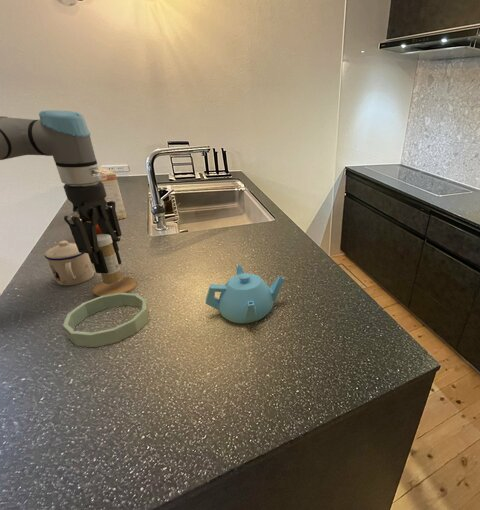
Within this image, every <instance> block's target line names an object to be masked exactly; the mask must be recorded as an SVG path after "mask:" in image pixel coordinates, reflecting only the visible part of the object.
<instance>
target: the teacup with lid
mask: <svg viewBox="0 0 480 510" xmlns="http://www.w3.org/2000/svg"><path fill="white" fill-rule="evenodd" d="M44 258H45V259H46V260H47V262H48V264H49V267H50V270H51V272H52V274H53V277H54V280H55V282H56V283H57V284H58V285H61V286H76V285H79V284H82V283H85V282H88V281H89V280H91V279H92V278H93V277H94V276H95V269H94V268H93V267H94V266H93V264H92V263H91V260H90V257H89V254H88V253H80V252H79V251H78V248H77V246H76V243H75V242H73V243H72V242H69V241H68V240H61V241H59V242H58V244H57V245H55V246H53V247H51V248H49V249H48V250H46V251H45V254H44Z"/></svg>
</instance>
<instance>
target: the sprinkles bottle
mask: <svg viewBox="0 0 480 510" xmlns="http://www.w3.org/2000/svg"><path fill="white" fill-rule="evenodd" d="M97 242H98V250H101V251H102V253H103V256H104V259H105V263H106V266H107V269H108V273H107V274H103V273H100V275H101V278H102V282H104V283H105V284H115V283H118V282H120V281H121V280H122V279H123V277H124V276H123V275H122V272H121V267H120V265H119V264H118V260H117V257H116V253H115V251H114V248H113V244H112V238H111V236H110V235H109V234H98V235H97Z"/></svg>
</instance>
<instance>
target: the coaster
mask: <svg viewBox="0 0 480 510" xmlns="http://www.w3.org/2000/svg"><path fill="white" fill-rule="evenodd" d="M122 277H123V279H122V280H121V281H120V282H118V283H115V284H105V283H104V282H103V281H101V282H99V283H97V284H96V285H95V286H94V287H93V288H92V294H93V295H94V297H95V298H97V297H100V296H104V295H110V294H116V293H131V292H132V291H134V289H135V288H136V287H137V280H136V279H135V278H133V277H130V276H122Z"/></svg>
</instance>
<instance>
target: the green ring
mask: <svg viewBox="0 0 480 510" xmlns="http://www.w3.org/2000/svg"><path fill="white" fill-rule="evenodd" d="M121 306H127V307H138V309H140V311H138V312H137V313H136V314H135V316H133V317H132V318H131V319H130V320H128V321H126V322H123V323H121V324H119V325H117V326H115V327H113V328H108V329H103V330H98V331H93V332H90V331H78V330H76V327H77V326H78V325H79V324H80V323H82V322H83V321H84V320H85V319H86V318H89V316H91V315H94V314H96V313H99V312H101V311H104V310H106V309H110V308H115V307H116V308H117V307H121ZM149 319H150V309H149V305H148V301H147V299H146V298H144V297H142V295H140V294H139V293H131V292H129V293H116V294H110V295H104V296H100V297H94V298H93V299H90V300H88V301H85V302H82V303H81V304H79V305H78V306H77V307H75V308H73V309H72V310H71V311H70V312H68V313H67V314H66V316H65V318H64V321H63V324H62V327H63V329H64V332H65V334H66V337H67V338H68V340H70V341H71V342H72V343H73V344H74V345H75V346H76V347H86V348H87V347H88V348H99V347H103V346H107V345H113V344H115V343H119V342H121V341H123V340H125V339H127V338H129V337H131V336H133V335H135V334H137V333H138V332H139V331H140V330H142V329H143V327H144V326H145V325H146V324H147V323H148V322H149Z"/></svg>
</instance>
